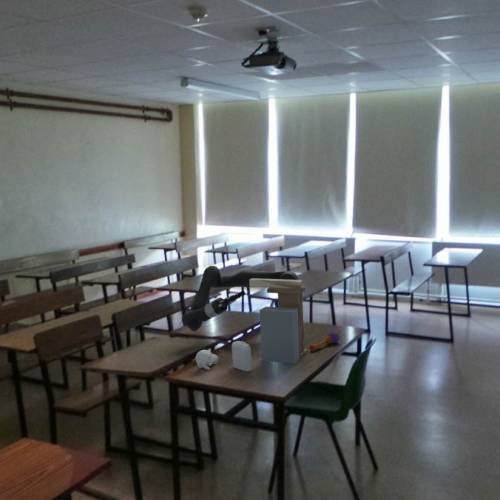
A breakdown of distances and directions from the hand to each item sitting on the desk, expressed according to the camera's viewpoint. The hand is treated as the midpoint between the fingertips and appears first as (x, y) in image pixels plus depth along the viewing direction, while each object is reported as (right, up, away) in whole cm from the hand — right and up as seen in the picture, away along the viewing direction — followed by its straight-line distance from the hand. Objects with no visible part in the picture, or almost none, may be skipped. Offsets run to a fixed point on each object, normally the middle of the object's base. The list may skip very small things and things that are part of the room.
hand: (240, 294), depth 273 cm
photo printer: (+1, -31, -24) cm, 40 cm away
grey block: (+19, -29, -15) cm, 38 cm away
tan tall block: (+23, -28, -6) cm, 37 cm away
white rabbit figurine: (-14, -32, -19) cm, 40 cm away
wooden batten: (+17, +4, -8) cm, 19 cm away
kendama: (+41, -26, +2) cm, 49 cm away
